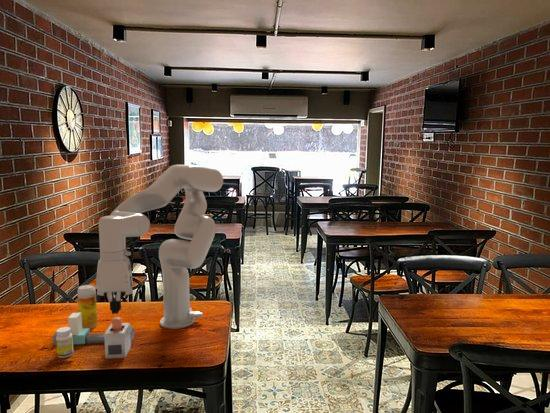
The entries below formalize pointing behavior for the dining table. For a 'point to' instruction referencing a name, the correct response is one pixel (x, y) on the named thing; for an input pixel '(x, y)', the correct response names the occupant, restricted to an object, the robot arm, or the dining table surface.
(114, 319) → the button
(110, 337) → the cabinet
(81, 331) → the carriage
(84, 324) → the beer can
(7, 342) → the dining table surface
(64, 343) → the supplement bottle
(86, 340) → the rail
